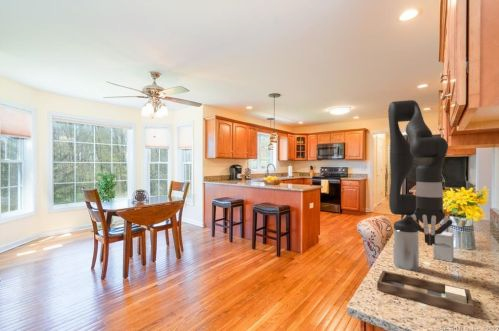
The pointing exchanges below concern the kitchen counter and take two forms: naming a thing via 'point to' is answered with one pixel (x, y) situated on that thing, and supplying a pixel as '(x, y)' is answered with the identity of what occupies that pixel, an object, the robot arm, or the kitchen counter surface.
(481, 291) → the kitchen counter surface
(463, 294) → the cream block
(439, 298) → the channel
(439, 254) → the supplement box
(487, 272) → the kitchen counter surface
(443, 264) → the kitchen counter surface
